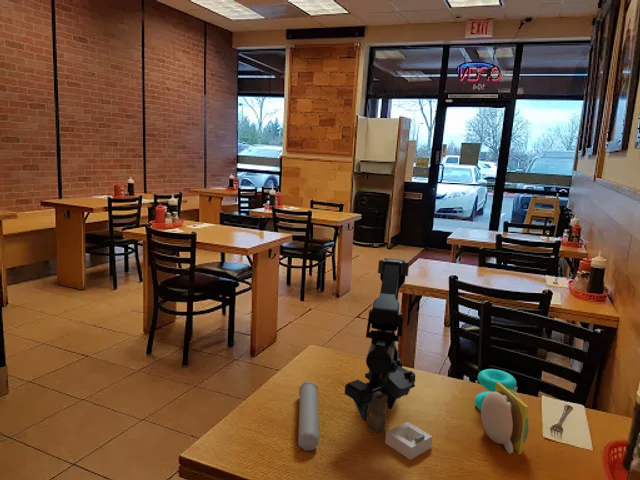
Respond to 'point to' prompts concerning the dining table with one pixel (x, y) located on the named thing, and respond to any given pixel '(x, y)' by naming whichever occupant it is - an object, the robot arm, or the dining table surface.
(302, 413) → the tube
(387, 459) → the dining table surface
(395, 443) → the white square frame
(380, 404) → the dark brown wooden beam
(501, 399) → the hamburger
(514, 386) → the donuts
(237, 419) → the dining table surface
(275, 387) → the dining table surface
